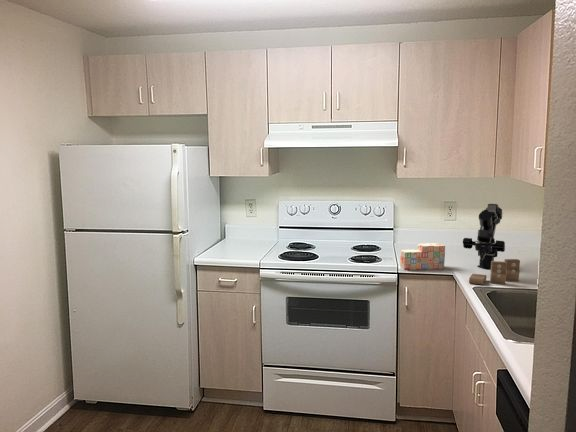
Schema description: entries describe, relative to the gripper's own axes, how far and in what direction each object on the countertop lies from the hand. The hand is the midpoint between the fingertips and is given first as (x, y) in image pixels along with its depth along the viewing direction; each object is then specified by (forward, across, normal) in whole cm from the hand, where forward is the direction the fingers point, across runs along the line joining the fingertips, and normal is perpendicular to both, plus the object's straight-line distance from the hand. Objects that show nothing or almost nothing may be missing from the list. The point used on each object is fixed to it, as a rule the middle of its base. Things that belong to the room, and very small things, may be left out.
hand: (481, 259), depth 228 cm
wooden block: (+8, 0, +2) cm, 9 cm away
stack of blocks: (+3, -29, +10) cm, 31 cm away
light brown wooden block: (+11, +8, +2) cm, 14 cm away
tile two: (+6, +13, +7) cm, 16 cm away
